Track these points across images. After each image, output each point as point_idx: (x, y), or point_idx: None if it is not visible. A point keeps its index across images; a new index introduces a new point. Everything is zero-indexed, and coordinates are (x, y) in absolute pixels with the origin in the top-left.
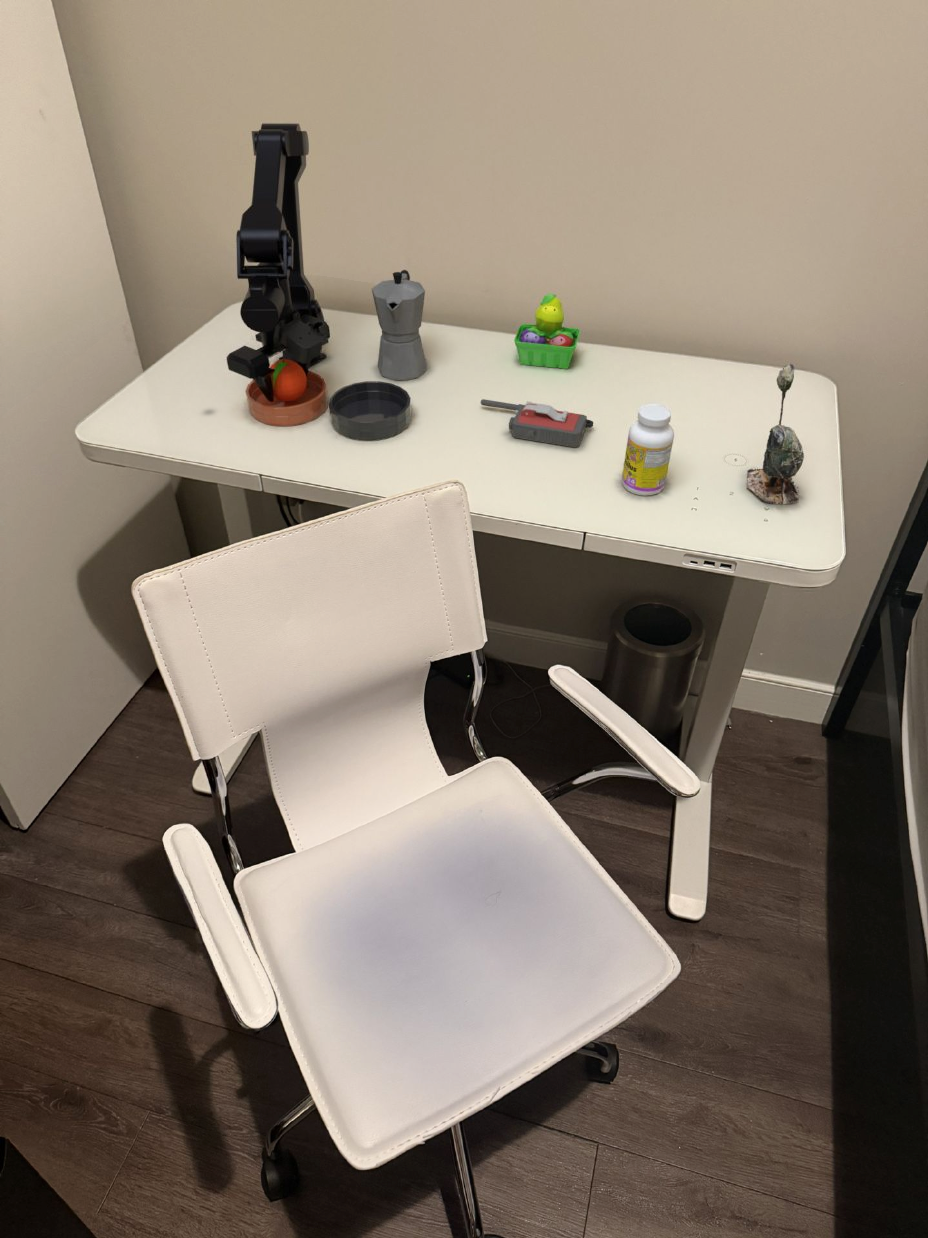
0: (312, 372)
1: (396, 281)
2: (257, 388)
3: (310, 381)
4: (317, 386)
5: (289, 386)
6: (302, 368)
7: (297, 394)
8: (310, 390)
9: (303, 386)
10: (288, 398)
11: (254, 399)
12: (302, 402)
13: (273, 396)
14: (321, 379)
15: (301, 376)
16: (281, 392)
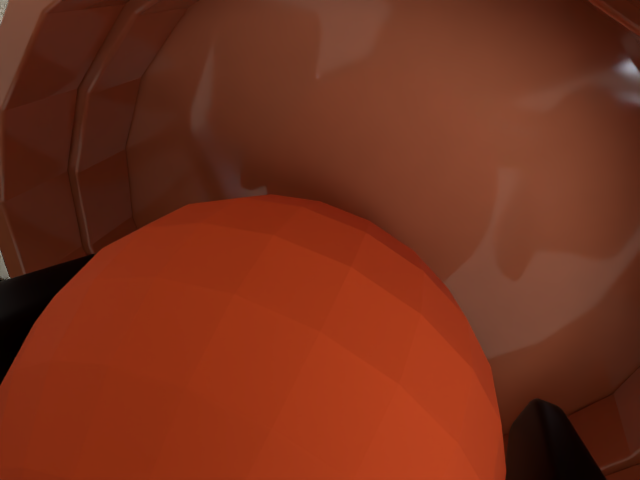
0: (4, 243)
1: None
2: None
3: (88, 222)
4: (94, 148)
5: (445, 394)
6: (18, 351)
7: (377, 229)
8: (146, 193)
9: (252, 216)
10: (448, 291)
11: None
12: (298, 180)
13: (553, 443)
14: (3, 109)
15: (155, 326)
16: (497, 408)
